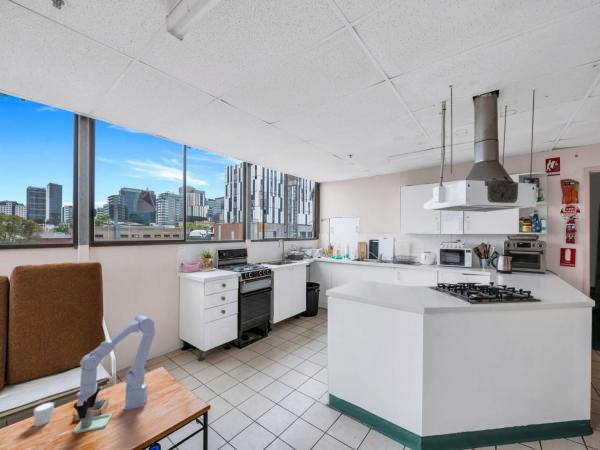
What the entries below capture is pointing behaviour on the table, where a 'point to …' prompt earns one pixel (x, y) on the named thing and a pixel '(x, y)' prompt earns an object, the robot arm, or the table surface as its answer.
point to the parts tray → (94, 423)
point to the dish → (95, 412)
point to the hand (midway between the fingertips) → (86, 412)
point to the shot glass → (43, 413)
